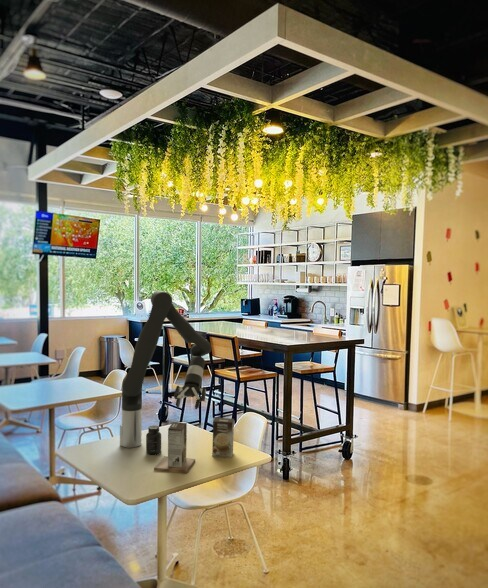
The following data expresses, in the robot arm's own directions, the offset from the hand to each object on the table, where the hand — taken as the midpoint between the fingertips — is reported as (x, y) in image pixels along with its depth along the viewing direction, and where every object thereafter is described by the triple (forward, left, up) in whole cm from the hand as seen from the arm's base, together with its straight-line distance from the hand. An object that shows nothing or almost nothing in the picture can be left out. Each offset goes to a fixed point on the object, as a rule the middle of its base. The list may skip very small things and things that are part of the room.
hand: (186, 407), depth 215 cm
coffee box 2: (+16, +4, -22) cm, 27 cm away
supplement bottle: (-15, -1, -22) cm, 26 cm away
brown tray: (-1, -13, -22) cm, 25 cm away
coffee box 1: (0, -13, -21) cm, 24 cm away
